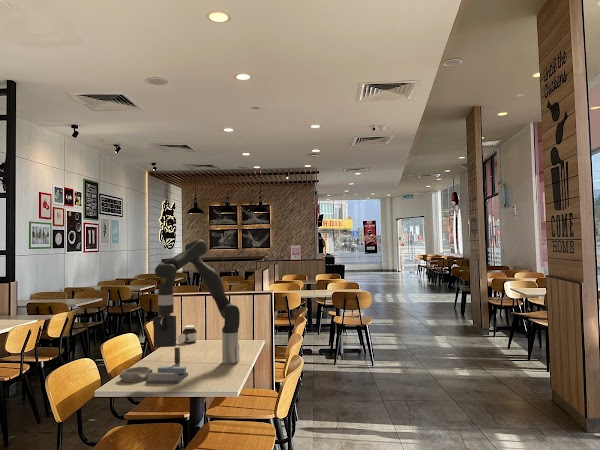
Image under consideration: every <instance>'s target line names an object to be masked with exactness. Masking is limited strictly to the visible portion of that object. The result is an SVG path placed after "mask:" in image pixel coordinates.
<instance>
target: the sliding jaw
mask: <svg viewBox="0 0 600 450" xmlns="http://www.w3.org/2000/svg"><path fill="white" fill-rule="evenodd" d="M157 373H178V374H184V373H187V367H186V366H181V347H180V346H174V364H173V365H172V366H159V367H157Z"/></svg>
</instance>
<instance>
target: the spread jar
mask: <svg viewBox="0 0 600 450" xmlns="http://www.w3.org/2000/svg"><path fill="white" fill-rule="evenodd" d="M197 340H198V331H197V330H196V328H195V325H192V324H191V325H190V324H189V325H184V329H183V330H182V332H181V333H180V334H179V335H178V337H177V339H176V342H177V343H178V344H179V345H183V344H189V345H191V344H195V343H196V342H197Z"/></svg>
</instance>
